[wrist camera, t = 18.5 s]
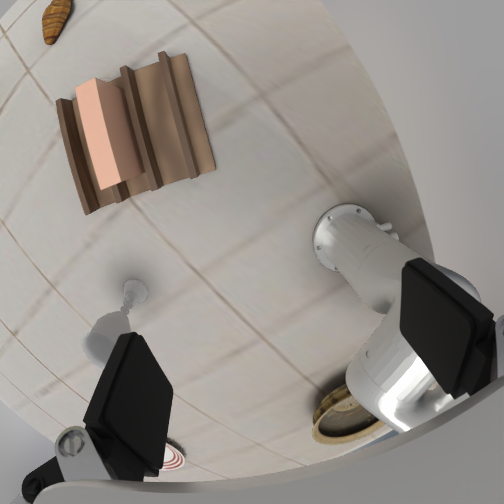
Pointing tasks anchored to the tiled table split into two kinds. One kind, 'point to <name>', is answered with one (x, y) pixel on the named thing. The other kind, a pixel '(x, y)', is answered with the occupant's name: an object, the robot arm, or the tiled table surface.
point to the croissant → (55, 19)
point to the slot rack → (145, 133)
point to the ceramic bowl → (342, 419)
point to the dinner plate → (172, 458)
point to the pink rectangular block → (109, 132)
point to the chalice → (112, 326)
